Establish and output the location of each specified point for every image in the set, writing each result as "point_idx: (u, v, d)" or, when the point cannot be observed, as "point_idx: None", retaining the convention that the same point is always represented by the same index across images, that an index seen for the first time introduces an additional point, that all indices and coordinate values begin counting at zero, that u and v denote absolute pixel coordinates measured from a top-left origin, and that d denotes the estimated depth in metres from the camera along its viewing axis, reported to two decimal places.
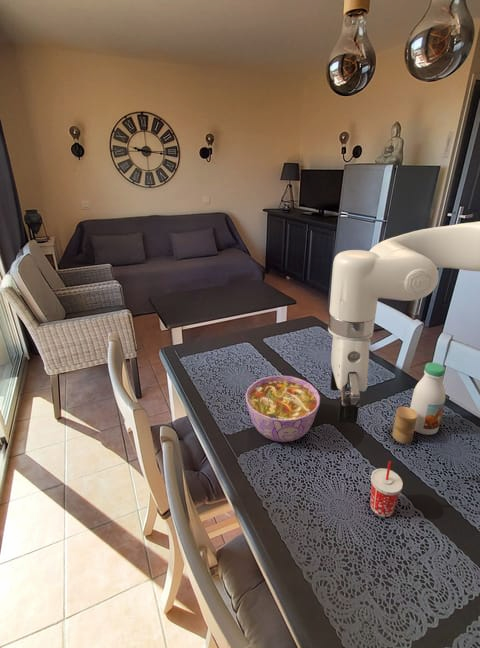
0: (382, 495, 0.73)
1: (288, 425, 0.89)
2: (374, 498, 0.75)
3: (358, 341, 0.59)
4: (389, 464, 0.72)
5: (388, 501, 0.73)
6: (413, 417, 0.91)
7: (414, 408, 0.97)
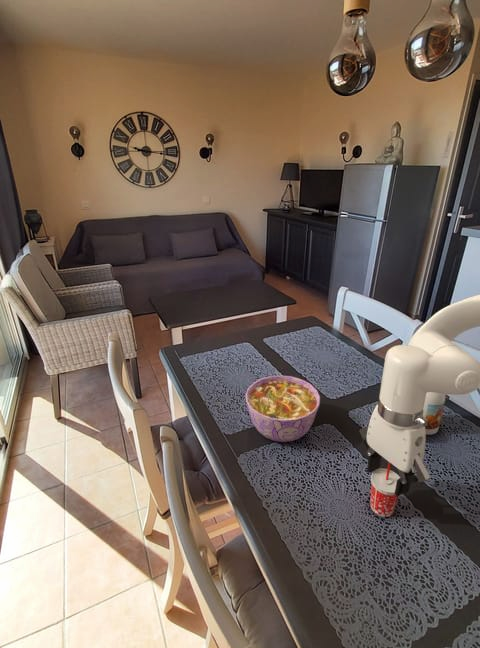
0: (382, 495, 0.73)
1: (288, 425, 0.89)
2: (374, 498, 0.75)
3: (419, 426, 0.65)
4: (389, 464, 0.72)
5: (388, 501, 0.73)
6: None
7: None
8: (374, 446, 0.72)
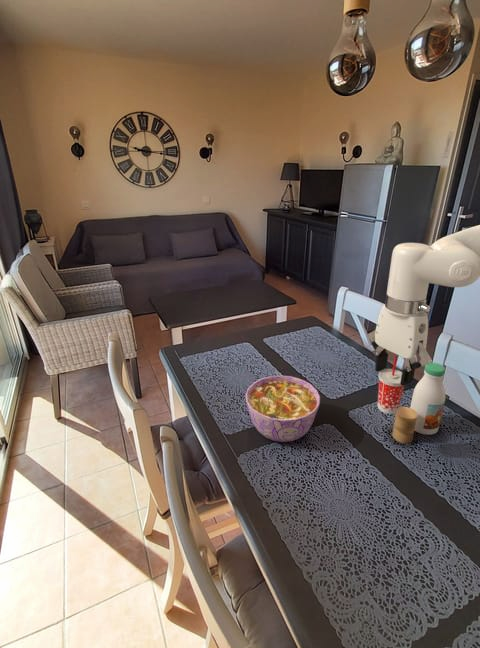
0: (389, 388, 0.81)
1: (288, 425, 0.89)
2: (381, 393, 0.83)
3: (422, 315, 0.73)
4: (395, 359, 0.81)
5: (394, 393, 0.81)
6: (413, 417, 0.91)
7: (414, 408, 0.97)
8: (382, 343, 0.80)
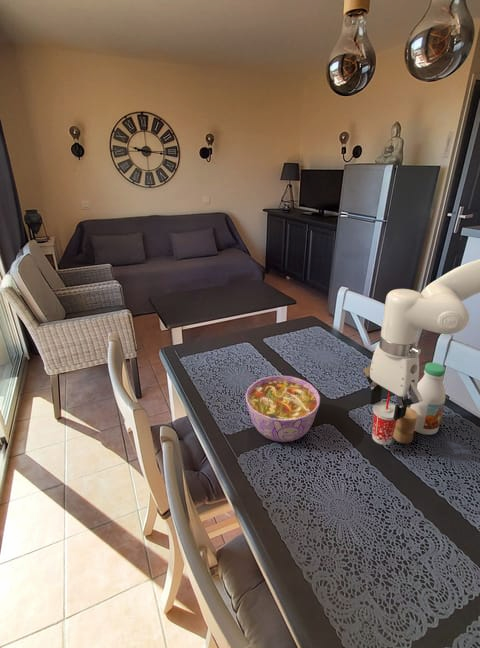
0: (382, 421, 0.86)
1: (288, 425, 0.89)
2: (376, 426, 0.88)
3: (414, 356, 0.78)
4: (388, 394, 0.85)
5: (387, 426, 0.86)
6: (413, 417, 0.91)
7: (414, 408, 0.97)
8: (376, 379, 0.85)
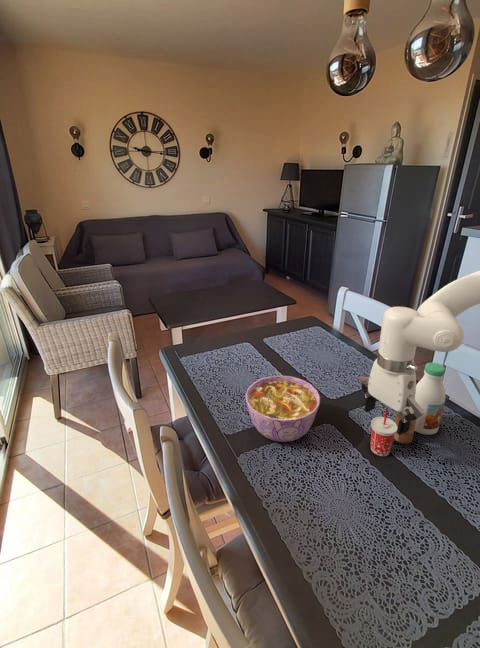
0: (380, 437, 0.88)
1: (288, 425, 0.89)
2: (374, 441, 0.90)
3: (411, 372, 0.80)
4: (386, 410, 0.87)
5: (385, 441, 0.88)
6: None
7: None
8: (374, 393, 0.87)
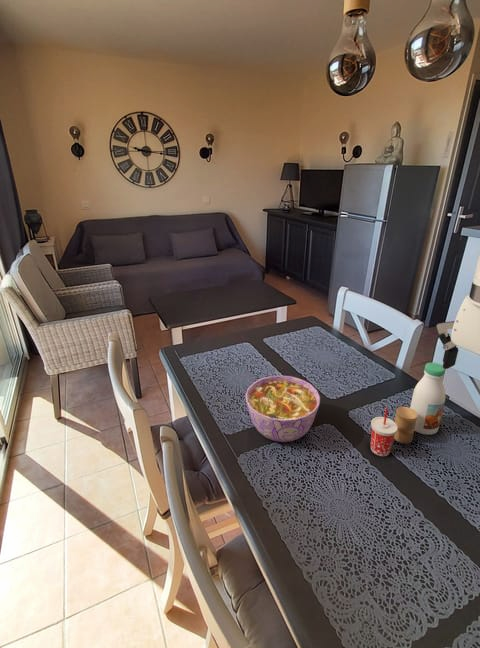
0: (380, 437, 0.88)
1: (288, 425, 0.89)
2: (374, 441, 0.90)
3: None
4: (386, 410, 0.87)
5: (385, 441, 0.88)
6: (413, 417, 0.91)
7: (414, 408, 0.97)
8: (461, 342, 0.68)
